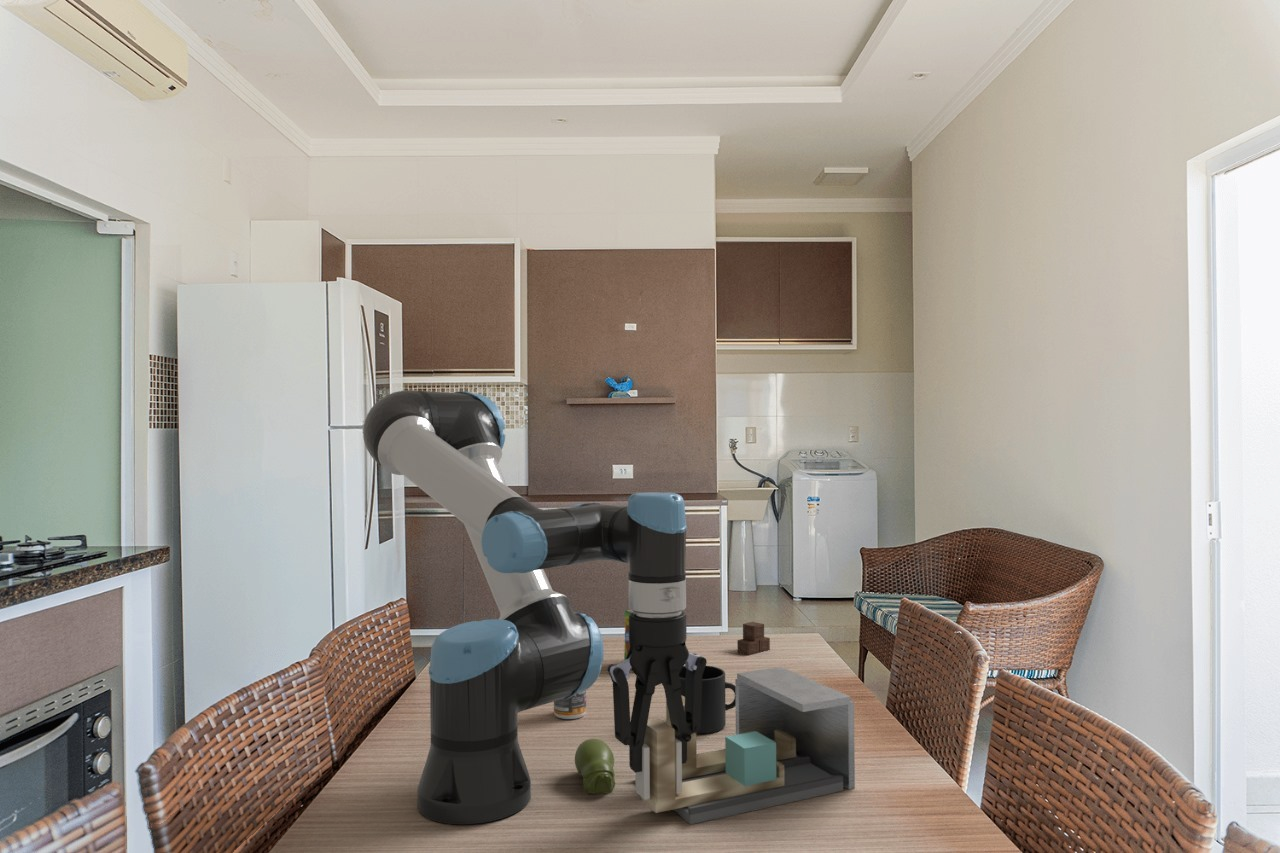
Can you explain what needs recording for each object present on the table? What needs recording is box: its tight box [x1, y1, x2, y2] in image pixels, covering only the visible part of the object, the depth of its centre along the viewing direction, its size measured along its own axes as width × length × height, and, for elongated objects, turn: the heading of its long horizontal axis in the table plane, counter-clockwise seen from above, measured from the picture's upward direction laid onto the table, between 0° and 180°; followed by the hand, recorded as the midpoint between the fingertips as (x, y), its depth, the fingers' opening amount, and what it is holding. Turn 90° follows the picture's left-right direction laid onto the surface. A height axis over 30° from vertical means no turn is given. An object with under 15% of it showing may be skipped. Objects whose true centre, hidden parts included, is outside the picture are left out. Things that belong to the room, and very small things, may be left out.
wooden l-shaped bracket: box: [640, 718, 784, 814], centre depth 115 cm, size 20×4×10 cm, turn 115°
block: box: [724, 731, 776, 786], centre depth 118 cm, size 5×5×5 cm
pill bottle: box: [553, 690, 587, 720], centre depth 152 cm, size 6×6×10 cm
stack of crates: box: [736, 621, 771, 656], centre depth 197 cm, size 15×15×7 cm
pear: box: [574, 738, 616, 795], centre depth 123 cm, size 6×5×10 cm
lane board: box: [672, 740, 844, 825], centre depth 122 cm, size 24×16×2 cm, turn 115°
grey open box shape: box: [734, 666, 856, 790], centre depth 126 cm, size 9×18×13 cm, turn 25°
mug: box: [679, 665, 736, 735], centre depth 147 cm, size 9×12×9 cm
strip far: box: [665, 695, 796, 779], centre depth 126 cm, size 20×4×10 cm, turn 115°
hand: (658, 791), depth 112 cm, fingers open, 4 cm apart
